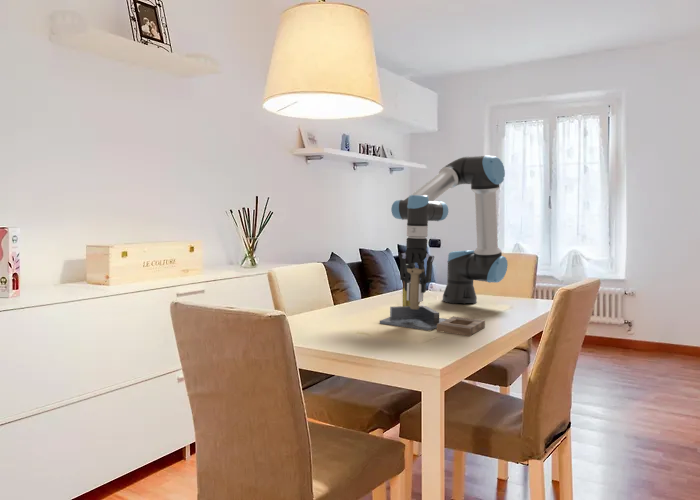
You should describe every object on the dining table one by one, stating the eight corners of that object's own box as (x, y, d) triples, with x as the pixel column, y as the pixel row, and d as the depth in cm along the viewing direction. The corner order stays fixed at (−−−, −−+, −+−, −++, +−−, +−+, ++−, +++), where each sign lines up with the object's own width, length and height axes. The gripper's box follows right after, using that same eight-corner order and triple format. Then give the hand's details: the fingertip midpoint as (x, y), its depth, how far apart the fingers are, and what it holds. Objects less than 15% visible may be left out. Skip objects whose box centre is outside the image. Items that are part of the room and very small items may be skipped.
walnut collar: (453, 322, 213) (453, 316, 213) (484, 327, 207) (485, 320, 207) (436, 331, 199) (437, 324, 199) (470, 335, 193) (470, 328, 193)
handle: (418, 311, 207) (420, 270, 206) (403, 308, 211) (404, 268, 210) (425, 309, 211) (426, 268, 210) (410, 306, 215) (411, 267, 214)
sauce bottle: (420, 313, 230) (422, 264, 229) (413, 315, 225) (415, 265, 223) (406, 311, 234) (407, 262, 232) (398, 313, 229) (400, 264, 227)
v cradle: (401, 315, 225) (401, 302, 225) (449, 321, 215) (449, 308, 214) (379, 323, 210) (380, 310, 209) (430, 330, 199) (430, 316, 199)
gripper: (391, 236, 210) (389, 299, 212) (434, 239, 201) (432, 304, 203) (400, 235, 217) (398, 296, 219) (442, 238, 208) (440, 301, 210)
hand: (414, 300), depth 211 cm, fingers closed on handle, 4 cm apart
